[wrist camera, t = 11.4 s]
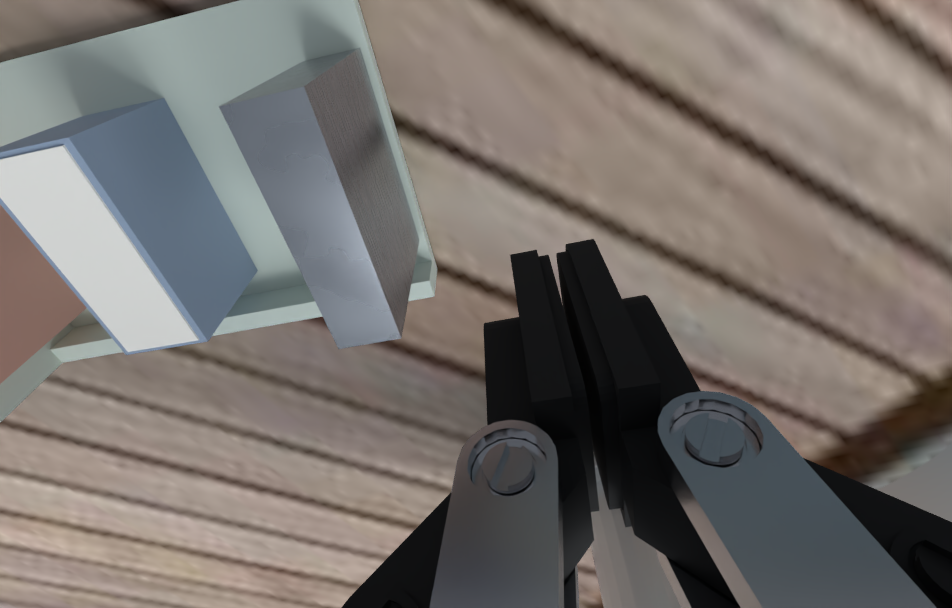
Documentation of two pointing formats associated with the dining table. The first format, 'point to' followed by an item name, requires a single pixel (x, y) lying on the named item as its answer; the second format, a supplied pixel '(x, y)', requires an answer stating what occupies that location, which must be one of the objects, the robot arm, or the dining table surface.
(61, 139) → the book
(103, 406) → the dining table surface
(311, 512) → the dining table surface
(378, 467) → the dining table surface
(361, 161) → the bookend
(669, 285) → the dining table surface
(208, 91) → the mint u-shaped tray
